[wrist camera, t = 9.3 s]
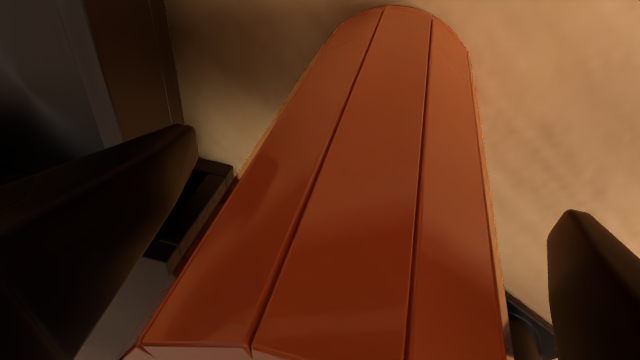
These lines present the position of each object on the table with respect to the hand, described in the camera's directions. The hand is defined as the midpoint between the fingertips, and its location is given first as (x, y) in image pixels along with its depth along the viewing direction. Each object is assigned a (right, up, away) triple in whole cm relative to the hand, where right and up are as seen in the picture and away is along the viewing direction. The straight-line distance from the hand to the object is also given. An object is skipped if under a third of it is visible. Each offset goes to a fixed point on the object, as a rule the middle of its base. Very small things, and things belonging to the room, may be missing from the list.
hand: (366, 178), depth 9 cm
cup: (+1, +3, +4) cm, 5 cm away
